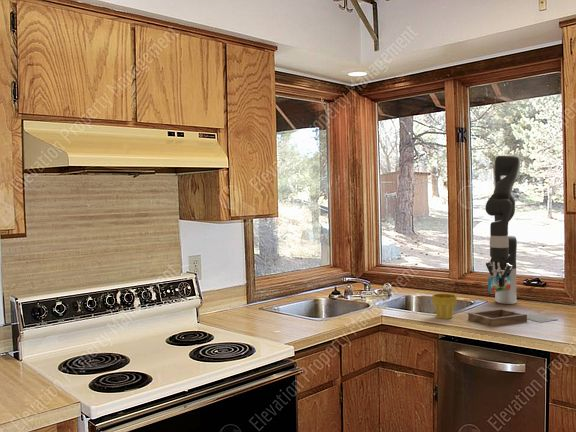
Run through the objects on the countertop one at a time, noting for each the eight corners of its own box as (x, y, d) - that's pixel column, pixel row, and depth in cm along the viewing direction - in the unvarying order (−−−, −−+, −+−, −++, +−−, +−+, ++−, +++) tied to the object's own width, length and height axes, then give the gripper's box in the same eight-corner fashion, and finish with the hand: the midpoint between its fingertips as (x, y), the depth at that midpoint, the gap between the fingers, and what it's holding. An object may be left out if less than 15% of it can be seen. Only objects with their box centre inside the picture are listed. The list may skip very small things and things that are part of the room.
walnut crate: (468, 319, 239) (468, 313, 239) (502, 315, 247) (502, 308, 247) (492, 326, 227) (492, 319, 226) (526, 321, 234) (526, 314, 234)
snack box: (507, 289, 240) (507, 275, 240) (510, 290, 239) (510, 275, 239) (487, 292, 235) (487, 277, 234) (490, 292, 233) (490, 278, 233)
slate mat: (514, 316, 245) (514, 315, 245) (531, 313, 249) (531, 313, 249) (540, 322, 232) (540, 322, 232) (558, 319, 236) (558, 319, 236)
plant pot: (451, 320, 238) (451, 298, 238) (428, 318, 245) (428, 296, 244) (460, 316, 247) (460, 294, 246) (437, 313, 253) (437, 292, 252)
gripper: (518, 246, 232) (518, 287, 232) (492, 244, 244) (493, 283, 245) (506, 247, 228) (506, 289, 229) (480, 245, 240) (480, 285, 241)
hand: (499, 286), depth 237 cm, fingers closed on snack box, 1 cm apart
